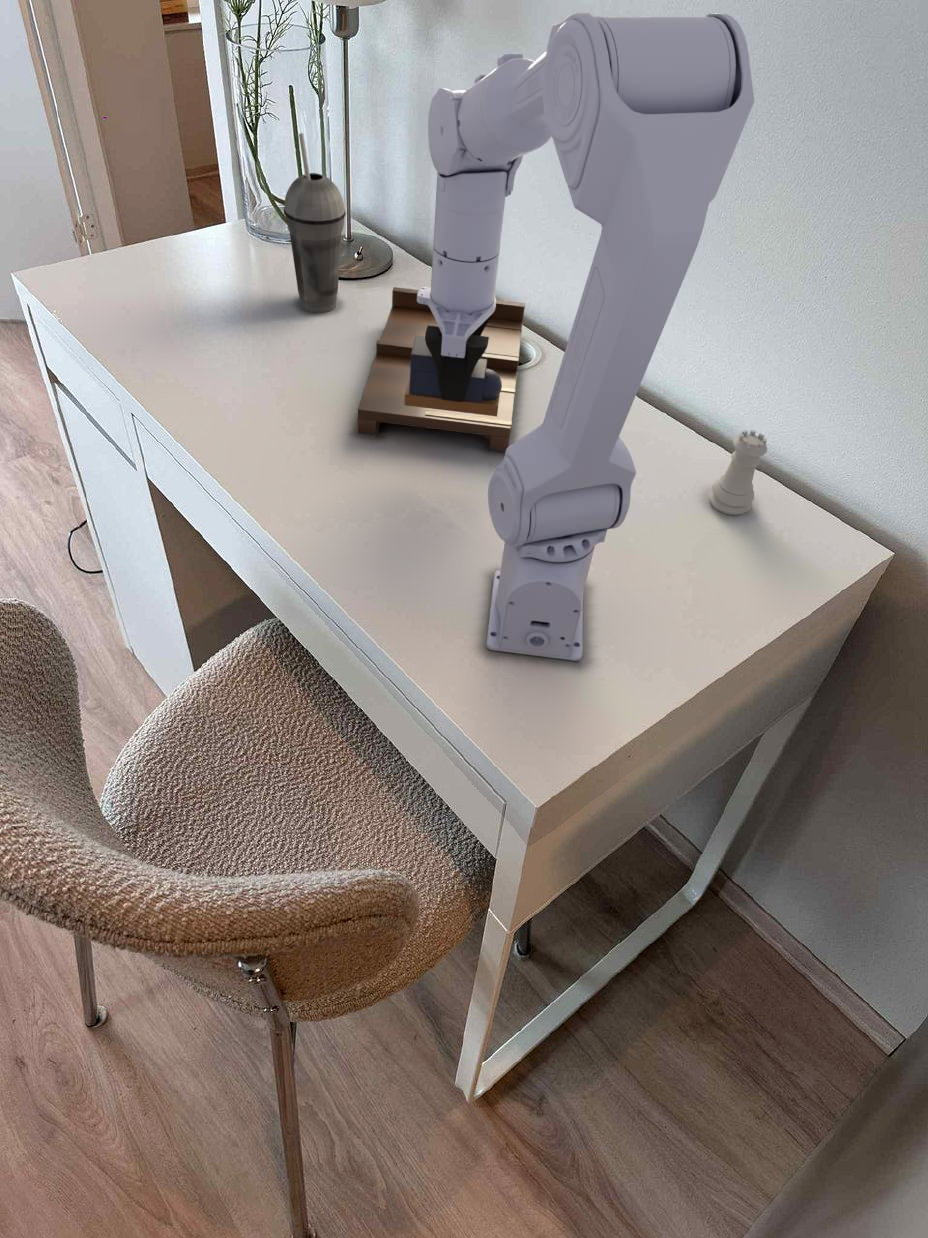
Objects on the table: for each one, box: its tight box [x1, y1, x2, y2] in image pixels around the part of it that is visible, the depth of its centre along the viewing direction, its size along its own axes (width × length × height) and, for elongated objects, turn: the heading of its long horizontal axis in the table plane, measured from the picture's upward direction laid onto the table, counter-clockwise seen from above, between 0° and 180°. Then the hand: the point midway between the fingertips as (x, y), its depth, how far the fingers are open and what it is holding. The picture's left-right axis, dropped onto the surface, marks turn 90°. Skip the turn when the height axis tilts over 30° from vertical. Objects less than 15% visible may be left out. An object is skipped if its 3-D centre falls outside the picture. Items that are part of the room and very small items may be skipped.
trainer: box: [404, 336, 502, 417], centre depth 85 cm, size 9×4×5 cm, turn 85°
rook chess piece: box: [708, 429, 768, 516], centre depth 88 cm, size 4×4×8 cm
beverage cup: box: [283, 132, 347, 314], centre depth 105 cm, size 7×7×20 cm
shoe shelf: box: [356, 286, 526, 453], centre depth 100 cm, size 24×16×5 cm, turn 174°
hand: (454, 387), depth 86 cm, fingers closed on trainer, 3 cm apart
